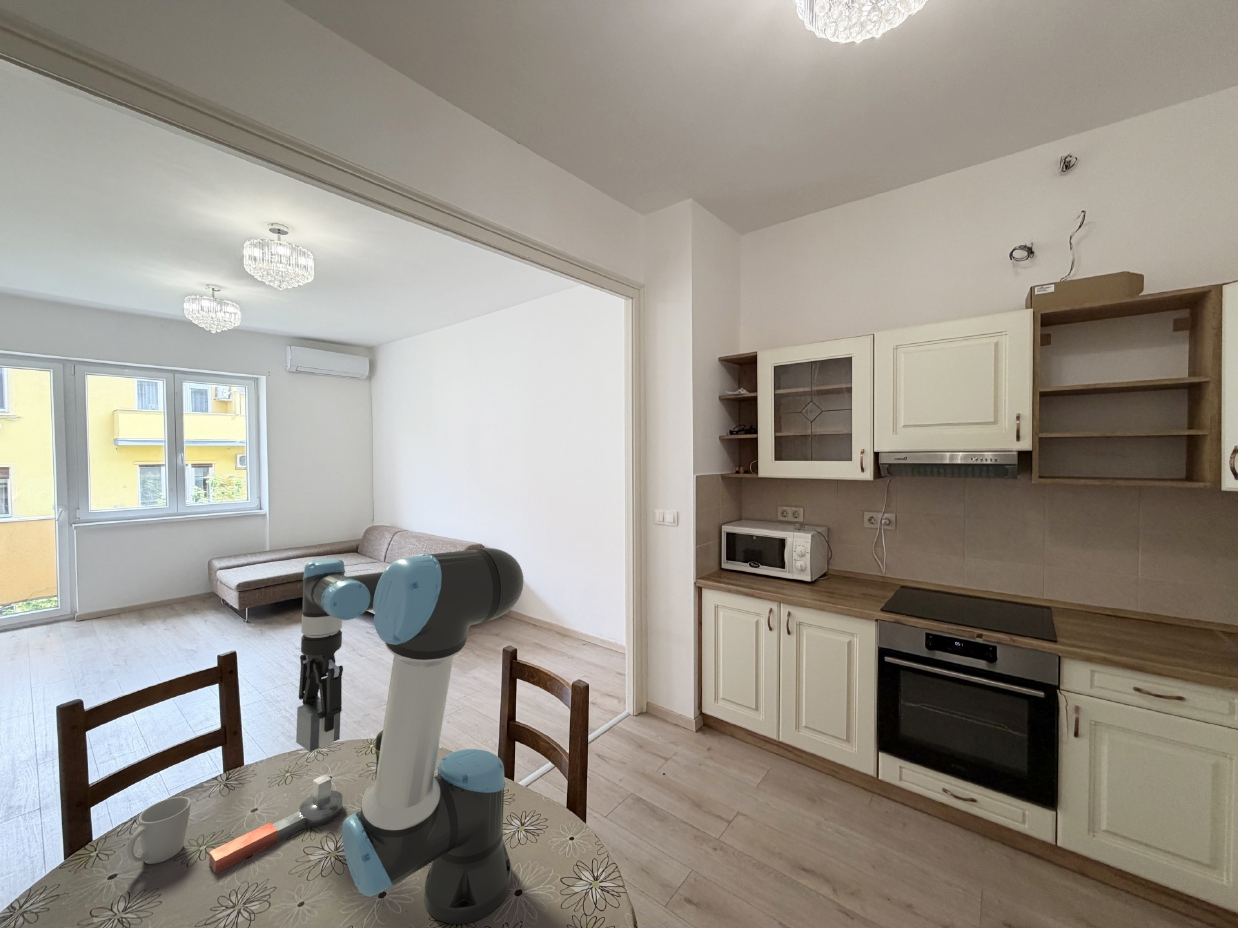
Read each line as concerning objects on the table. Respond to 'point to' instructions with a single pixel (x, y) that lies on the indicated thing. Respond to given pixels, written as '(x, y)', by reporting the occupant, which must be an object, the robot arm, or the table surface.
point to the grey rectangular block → (312, 725)
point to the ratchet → (281, 826)
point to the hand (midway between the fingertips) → (318, 739)
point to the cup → (161, 830)
